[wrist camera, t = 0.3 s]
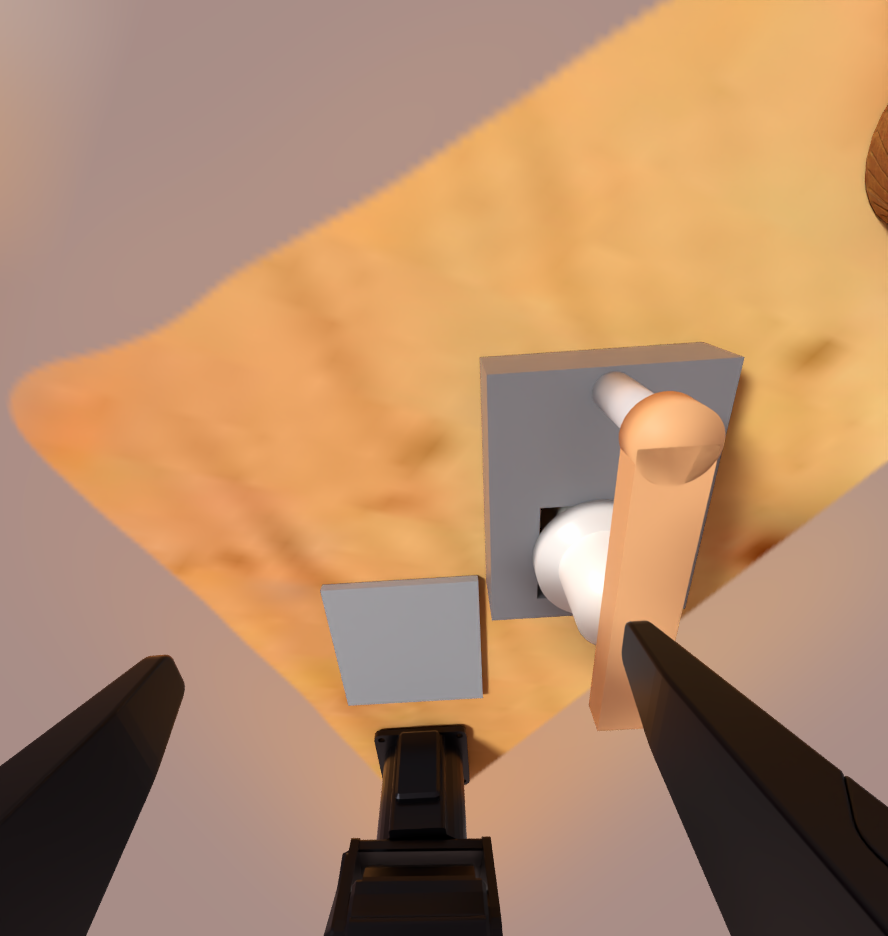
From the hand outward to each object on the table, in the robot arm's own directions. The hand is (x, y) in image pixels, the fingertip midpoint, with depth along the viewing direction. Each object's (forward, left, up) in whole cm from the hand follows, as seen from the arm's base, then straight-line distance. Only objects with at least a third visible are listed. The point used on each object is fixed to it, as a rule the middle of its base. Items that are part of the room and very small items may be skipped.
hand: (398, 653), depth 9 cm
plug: (-6, -8, -14) cm, 17 cm away
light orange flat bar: (-4, -8, -7) cm, 11 cm away
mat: (-15, +2, -14) cm, 21 cm away
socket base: (-4, -8, -14) cm, 17 cm away
